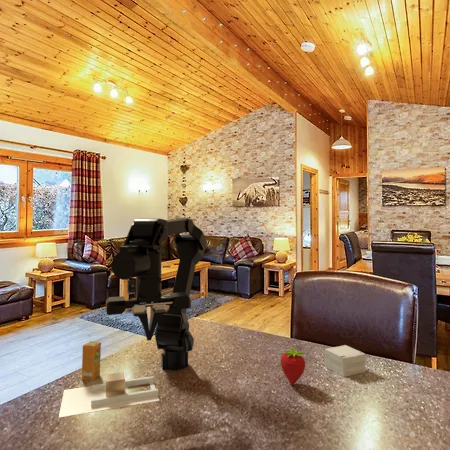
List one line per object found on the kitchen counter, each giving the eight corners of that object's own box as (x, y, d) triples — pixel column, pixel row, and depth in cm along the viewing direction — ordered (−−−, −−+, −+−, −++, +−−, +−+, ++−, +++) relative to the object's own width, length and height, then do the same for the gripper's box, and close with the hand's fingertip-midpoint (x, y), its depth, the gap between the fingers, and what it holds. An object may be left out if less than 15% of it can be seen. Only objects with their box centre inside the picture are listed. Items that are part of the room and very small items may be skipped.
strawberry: (298, 376, 92) (299, 338, 92) (309, 390, 85) (309, 349, 85) (276, 378, 91) (277, 339, 91) (285, 392, 84) (286, 350, 84)
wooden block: (123, 388, 82) (123, 371, 82) (124, 397, 78) (124, 379, 78) (105, 391, 81) (105, 374, 81) (105, 400, 77) (105, 381, 77)
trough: (151, 383, 88) (151, 372, 88) (159, 407, 77) (159, 395, 77) (64, 396, 82) (64, 384, 82) (58, 425, 70) (58, 411, 70)
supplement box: (93, 386, 86) (93, 346, 86) (81, 385, 87) (81, 345, 87) (101, 380, 90) (101, 341, 89) (89, 379, 90) (88, 340, 90)
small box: (345, 361, 102) (345, 344, 102) (366, 372, 95) (366, 353, 95) (323, 366, 99) (324, 348, 99) (343, 377, 92) (343, 358, 92)
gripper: (180, 266, 92) (180, 326, 93) (105, 269, 86) (105, 333, 86) (191, 272, 82) (191, 339, 82) (106, 276, 76) (106, 349, 76)
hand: (148, 339), depth 82 cm, fingers closed
